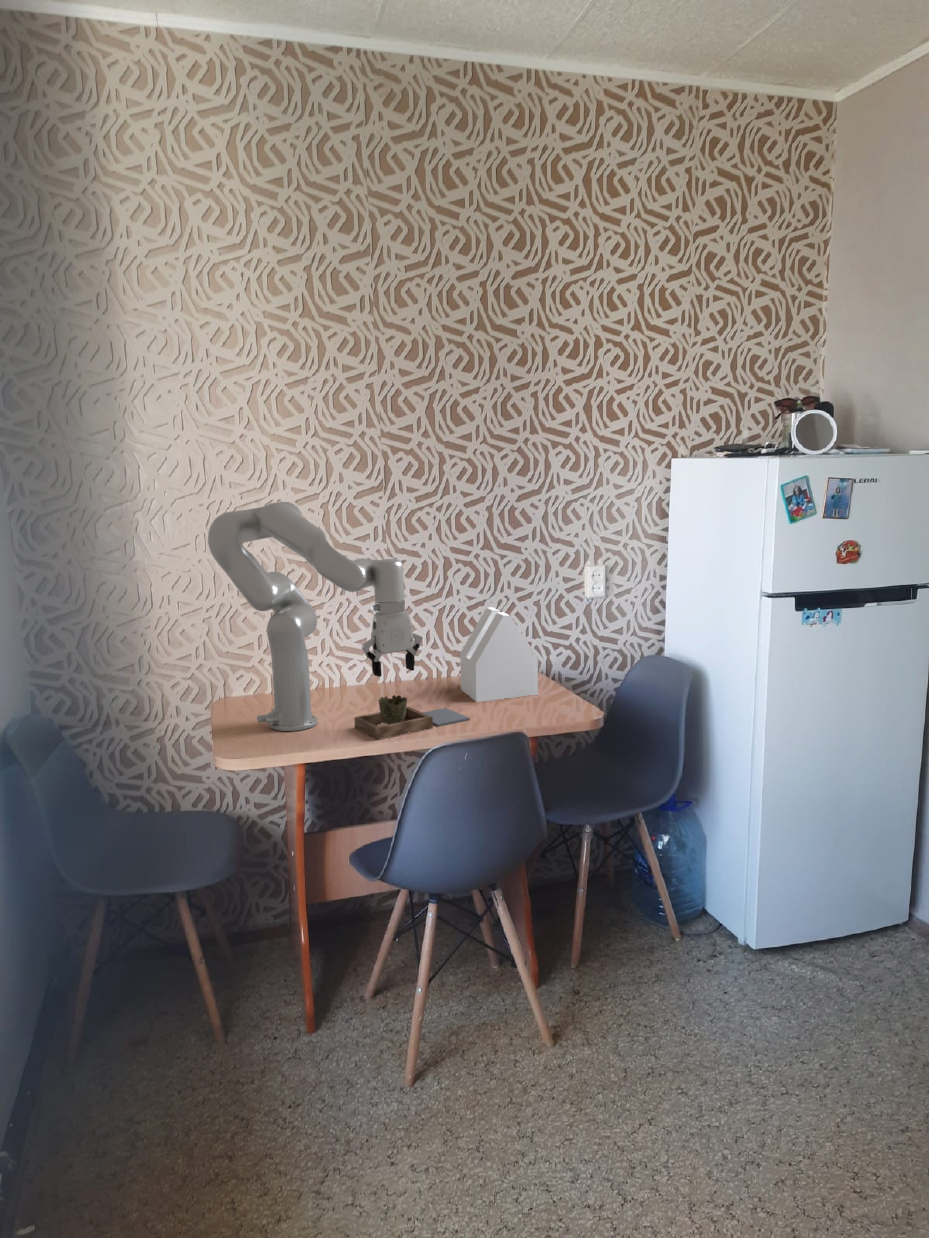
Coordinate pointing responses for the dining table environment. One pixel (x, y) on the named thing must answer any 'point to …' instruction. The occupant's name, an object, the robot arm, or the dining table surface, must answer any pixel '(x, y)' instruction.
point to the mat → (445, 717)
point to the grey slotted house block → (498, 660)
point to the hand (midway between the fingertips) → (394, 672)
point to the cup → (393, 709)
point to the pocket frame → (412, 725)
